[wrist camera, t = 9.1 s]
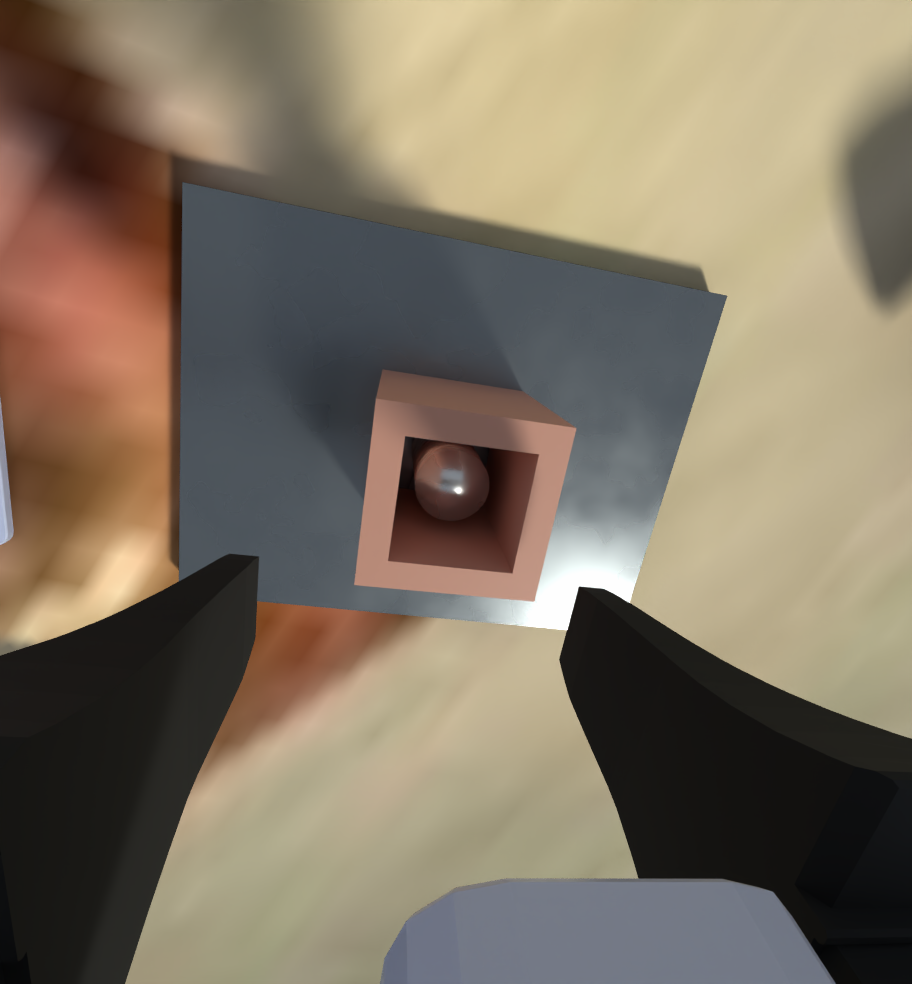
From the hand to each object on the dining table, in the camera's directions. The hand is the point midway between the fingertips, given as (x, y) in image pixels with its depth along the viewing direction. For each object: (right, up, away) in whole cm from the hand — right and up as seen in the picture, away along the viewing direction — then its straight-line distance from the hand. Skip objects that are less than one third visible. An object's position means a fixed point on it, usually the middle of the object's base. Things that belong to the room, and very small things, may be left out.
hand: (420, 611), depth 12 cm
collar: (0, +4, +7) cm, 9 cm away
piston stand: (0, +4, +8) cm, 9 cm away
